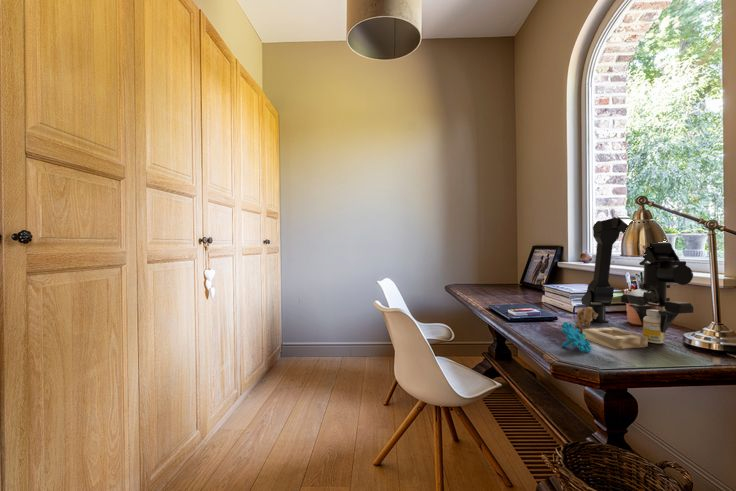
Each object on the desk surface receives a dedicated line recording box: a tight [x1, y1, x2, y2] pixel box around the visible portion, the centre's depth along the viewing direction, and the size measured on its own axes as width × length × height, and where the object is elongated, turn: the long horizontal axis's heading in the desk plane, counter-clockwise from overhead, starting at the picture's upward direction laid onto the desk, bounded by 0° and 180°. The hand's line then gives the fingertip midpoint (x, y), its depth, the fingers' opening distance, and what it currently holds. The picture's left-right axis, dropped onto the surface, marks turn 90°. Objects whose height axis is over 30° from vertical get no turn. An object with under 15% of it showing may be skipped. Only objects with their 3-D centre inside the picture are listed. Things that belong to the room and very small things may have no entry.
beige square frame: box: [582, 326, 649, 350], centre depth 114 cm, size 12×12×3 cm
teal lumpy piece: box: [560, 321, 592, 353], centre depth 107 cm, size 11×6×10 cm
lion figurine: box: [574, 306, 598, 332], centre depth 131 cm, size 15×5×9 cm, turn 166°
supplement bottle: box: [642, 309, 666, 344], centre depth 113 cm, size 5×5×10 cm
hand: (653, 330), depth 113 cm, fingers closed on supplement bottle, 5 cm apart
